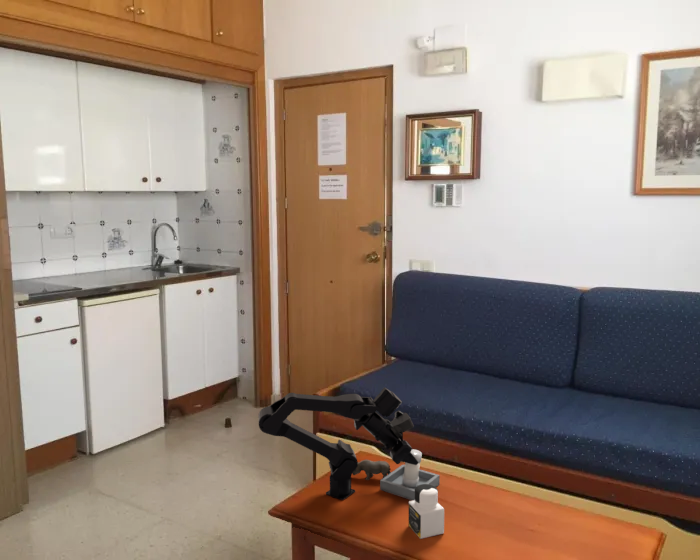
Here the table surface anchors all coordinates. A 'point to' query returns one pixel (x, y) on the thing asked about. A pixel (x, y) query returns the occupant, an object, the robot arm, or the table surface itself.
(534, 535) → the table surface
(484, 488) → the table surface
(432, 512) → the medicine bottle
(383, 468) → the rhino figurine
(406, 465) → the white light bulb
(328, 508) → the table surface
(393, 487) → the parts tray
